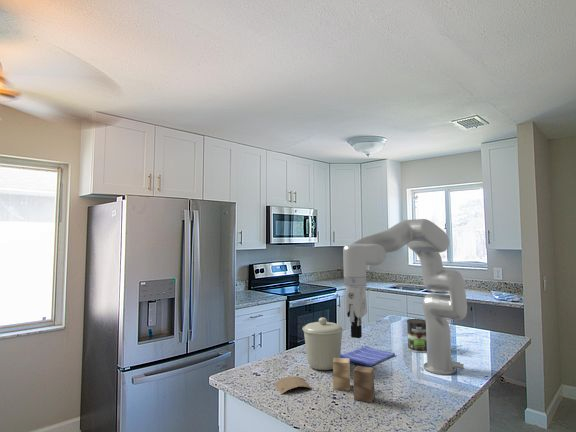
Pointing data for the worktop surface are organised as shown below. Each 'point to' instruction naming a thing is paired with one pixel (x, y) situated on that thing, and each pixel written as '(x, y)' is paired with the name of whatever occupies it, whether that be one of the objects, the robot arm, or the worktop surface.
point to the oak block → (341, 374)
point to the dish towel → (367, 356)
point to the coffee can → (417, 335)
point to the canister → (322, 343)
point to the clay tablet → (290, 383)
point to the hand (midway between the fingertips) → (356, 337)
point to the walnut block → (363, 383)
